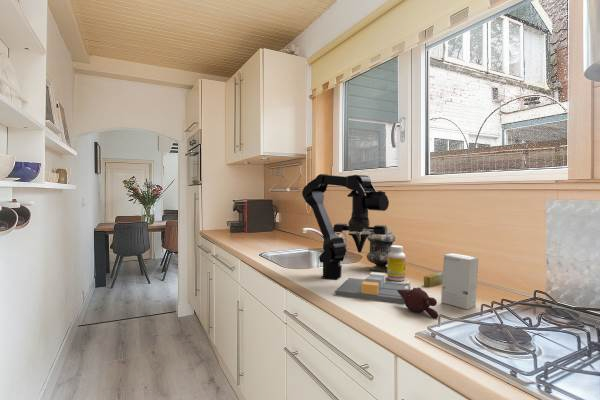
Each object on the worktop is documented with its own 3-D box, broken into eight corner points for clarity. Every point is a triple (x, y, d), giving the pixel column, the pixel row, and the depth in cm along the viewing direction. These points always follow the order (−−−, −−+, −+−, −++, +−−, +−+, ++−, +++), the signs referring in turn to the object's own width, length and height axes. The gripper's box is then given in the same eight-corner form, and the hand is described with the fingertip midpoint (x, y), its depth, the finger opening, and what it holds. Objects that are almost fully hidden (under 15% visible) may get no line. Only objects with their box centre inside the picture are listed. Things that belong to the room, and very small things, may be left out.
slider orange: (361, 293, 108) (361, 283, 108) (363, 290, 111) (363, 281, 111) (377, 295, 106) (377, 285, 106) (379, 292, 109) (379, 282, 109)
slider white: (369, 282, 121) (369, 274, 121) (371, 280, 124) (371, 271, 124) (383, 283, 119) (384, 275, 119) (385, 281, 122) (385, 273, 122)
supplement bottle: (406, 282, 128) (406, 248, 127) (387, 281, 129) (388, 247, 129) (404, 277, 134) (404, 245, 134) (387, 276, 136) (387, 244, 135)
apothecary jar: (398, 269, 149) (399, 228, 148) (390, 275, 138) (390, 231, 138) (372, 266, 155) (372, 226, 155) (362, 271, 145) (362, 229, 144)
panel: (335, 295, 111) (335, 287, 111) (348, 281, 128) (348, 274, 127) (405, 303, 103) (405, 295, 102) (410, 288, 119) (410, 280, 119)
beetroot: (386, 284, 101) (425, 303, 88) (405, 275, 104) (445, 293, 91) (389, 305, 103) (428, 327, 89) (408, 296, 105) (448, 316, 92)
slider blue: (365, 287, 114) (365, 278, 114) (367, 284, 118) (367, 276, 118) (380, 289, 112) (380, 280, 112) (382, 286, 116) (382, 277, 116)
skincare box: (440, 302, 104) (441, 254, 103) (450, 299, 108) (451, 252, 107) (468, 310, 97) (469, 258, 97) (478, 306, 101) (478, 256, 101)
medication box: (442, 281, 130) (442, 271, 130) (448, 282, 127) (448, 272, 127) (423, 286, 123) (423, 275, 123) (430, 288, 120) (430, 276, 120)
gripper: (328, 210, 119) (328, 254, 120) (382, 211, 112) (382, 258, 113) (337, 208, 130) (337, 249, 130) (387, 209, 123) (387, 252, 123)
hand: (359, 252), depth 124 cm, fingers closed
